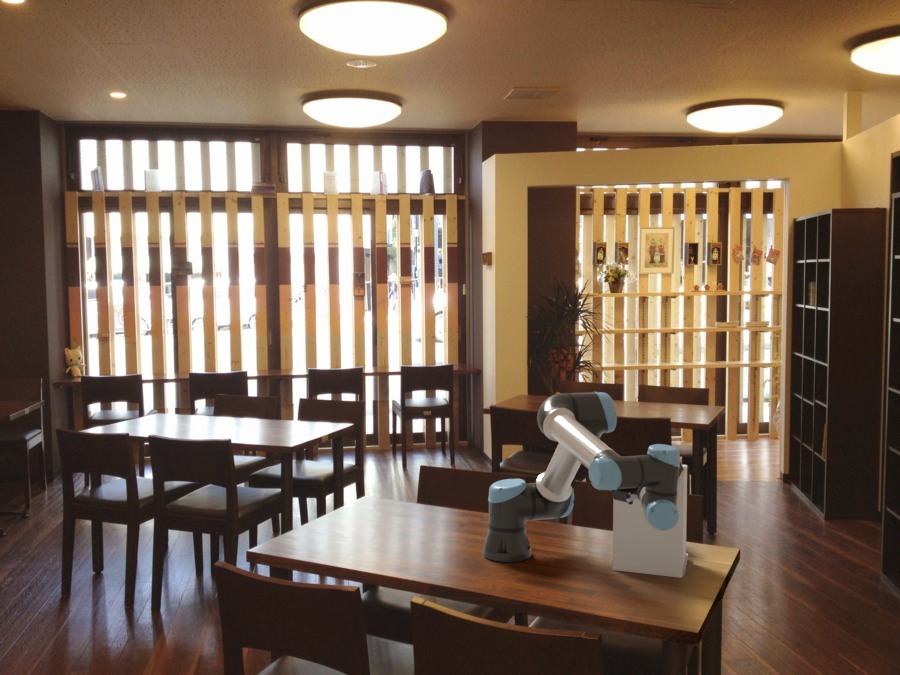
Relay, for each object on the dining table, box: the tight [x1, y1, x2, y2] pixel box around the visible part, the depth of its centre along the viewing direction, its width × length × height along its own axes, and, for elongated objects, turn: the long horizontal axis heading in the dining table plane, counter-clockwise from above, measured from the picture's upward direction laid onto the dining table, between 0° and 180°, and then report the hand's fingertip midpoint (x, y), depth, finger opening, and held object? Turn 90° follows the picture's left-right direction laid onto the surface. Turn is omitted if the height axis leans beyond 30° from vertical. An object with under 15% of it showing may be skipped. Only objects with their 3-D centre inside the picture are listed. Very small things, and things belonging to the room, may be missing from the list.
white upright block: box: [611, 464, 689, 579], centre depth 243 cm, size 18×21×30 cm
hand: (642, 471), depth 224 cm, fingers open, 13 cm apart
